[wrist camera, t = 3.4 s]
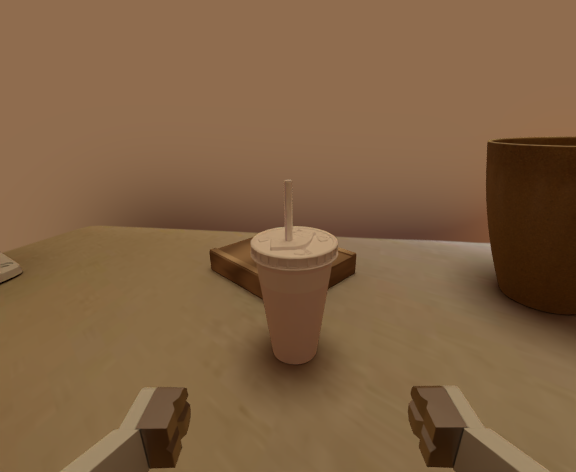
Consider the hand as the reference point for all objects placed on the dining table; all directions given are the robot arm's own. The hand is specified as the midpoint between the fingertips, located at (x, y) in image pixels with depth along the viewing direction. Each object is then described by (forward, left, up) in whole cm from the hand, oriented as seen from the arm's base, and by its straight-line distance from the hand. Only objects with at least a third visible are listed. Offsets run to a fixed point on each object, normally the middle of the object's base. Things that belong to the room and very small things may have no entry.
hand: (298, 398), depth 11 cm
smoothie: (-8, +8, -8) cm, 15 cm away
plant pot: (+5, +32, -8) cm, 34 cm away
